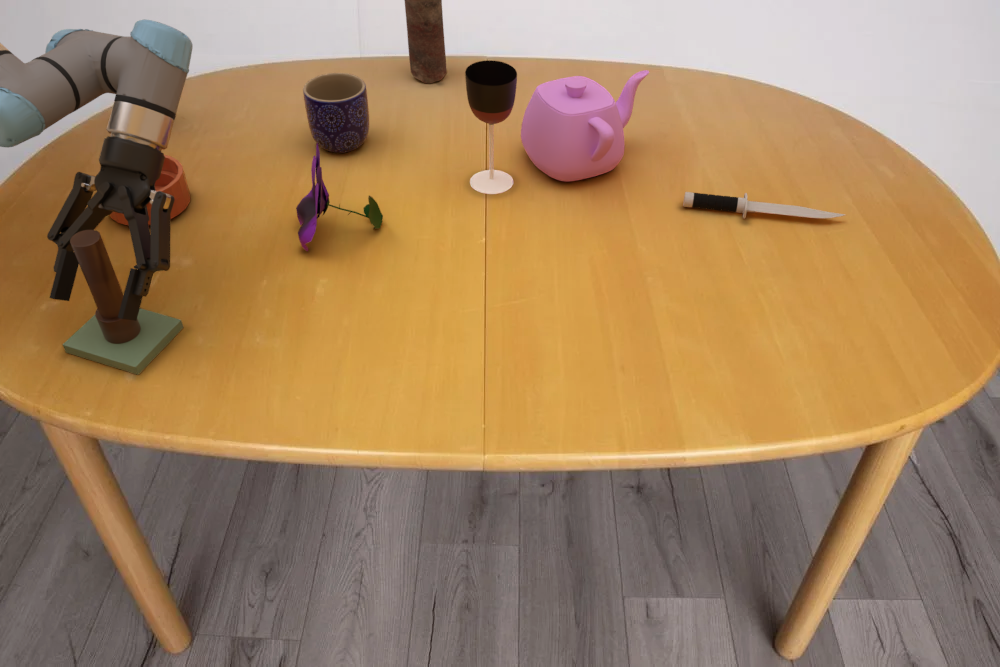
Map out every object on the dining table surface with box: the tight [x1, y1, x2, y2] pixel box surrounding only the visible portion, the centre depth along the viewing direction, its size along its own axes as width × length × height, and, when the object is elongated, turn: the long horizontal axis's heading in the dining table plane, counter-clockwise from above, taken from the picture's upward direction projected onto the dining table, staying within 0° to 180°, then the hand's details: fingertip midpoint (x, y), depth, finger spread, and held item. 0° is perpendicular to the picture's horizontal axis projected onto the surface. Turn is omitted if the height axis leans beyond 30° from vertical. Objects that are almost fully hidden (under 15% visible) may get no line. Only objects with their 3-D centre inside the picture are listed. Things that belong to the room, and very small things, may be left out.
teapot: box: [520, 69, 650, 182], centre depth 150 cm, size 23×21×15 cm
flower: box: [295, 143, 384, 252], centre depth 136 cm, size 15×15×14 cm
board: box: [61, 307, 185, 376], centre depth 120 cm, size 12×10×2 cm
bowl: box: [109, 154, 191, 227], centre depth 142 cm, size 13×13×6 cm
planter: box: [302, 72, 370, 154], centre depth 155 cm, size 11×11×11 cm
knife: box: [682, 191, 846, 220], centre depth 142 cm, size 26×2×5 cm
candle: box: [403, 0, 448, 84], centre depth 172 cm, size 8×7×20 cm
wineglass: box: [464, 59, 518, 195], centre depth 143 cm, size 8×9×20 cm
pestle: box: [70, 229, 141, 344], centre depth 114 cm, size 5×5×16 cm
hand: (92, 309), depth 113 cm, fingers open, 10 cm apart
